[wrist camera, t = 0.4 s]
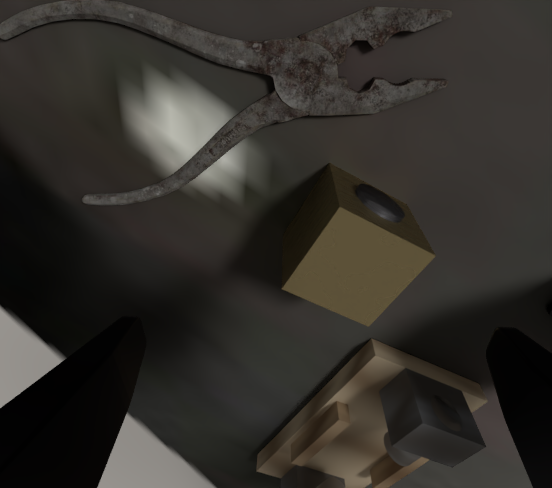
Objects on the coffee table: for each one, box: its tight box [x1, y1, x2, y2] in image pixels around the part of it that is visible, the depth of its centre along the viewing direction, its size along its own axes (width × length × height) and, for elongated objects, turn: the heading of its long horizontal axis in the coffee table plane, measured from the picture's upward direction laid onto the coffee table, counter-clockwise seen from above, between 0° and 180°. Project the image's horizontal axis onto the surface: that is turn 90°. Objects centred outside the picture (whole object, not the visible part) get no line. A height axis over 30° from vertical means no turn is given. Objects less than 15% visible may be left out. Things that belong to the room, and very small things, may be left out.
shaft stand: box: [256, 338, 488, 488], centre depth 30 cm, size 18×10×6 cm, turn 152°
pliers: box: [0, 0, 452, 206], centre depth 17 cm, size 10×1×20 cm
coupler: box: [282, 163, 436, 327], centre depth 19 cm, size 5×6×5 cm
